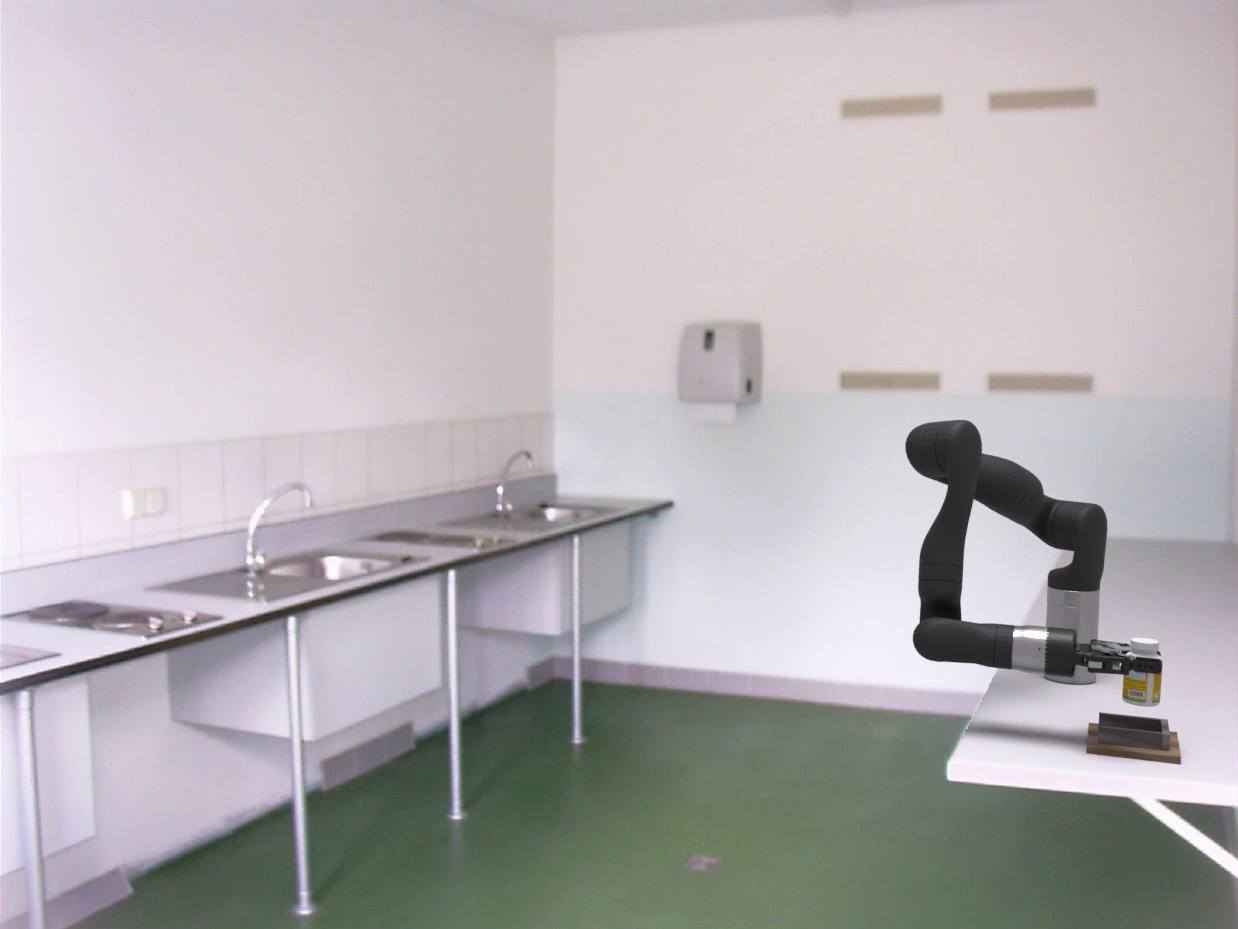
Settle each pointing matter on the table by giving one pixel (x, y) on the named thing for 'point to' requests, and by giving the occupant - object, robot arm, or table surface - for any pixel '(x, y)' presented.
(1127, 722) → the u holder
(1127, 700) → the supplement bottle
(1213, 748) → the table surface
